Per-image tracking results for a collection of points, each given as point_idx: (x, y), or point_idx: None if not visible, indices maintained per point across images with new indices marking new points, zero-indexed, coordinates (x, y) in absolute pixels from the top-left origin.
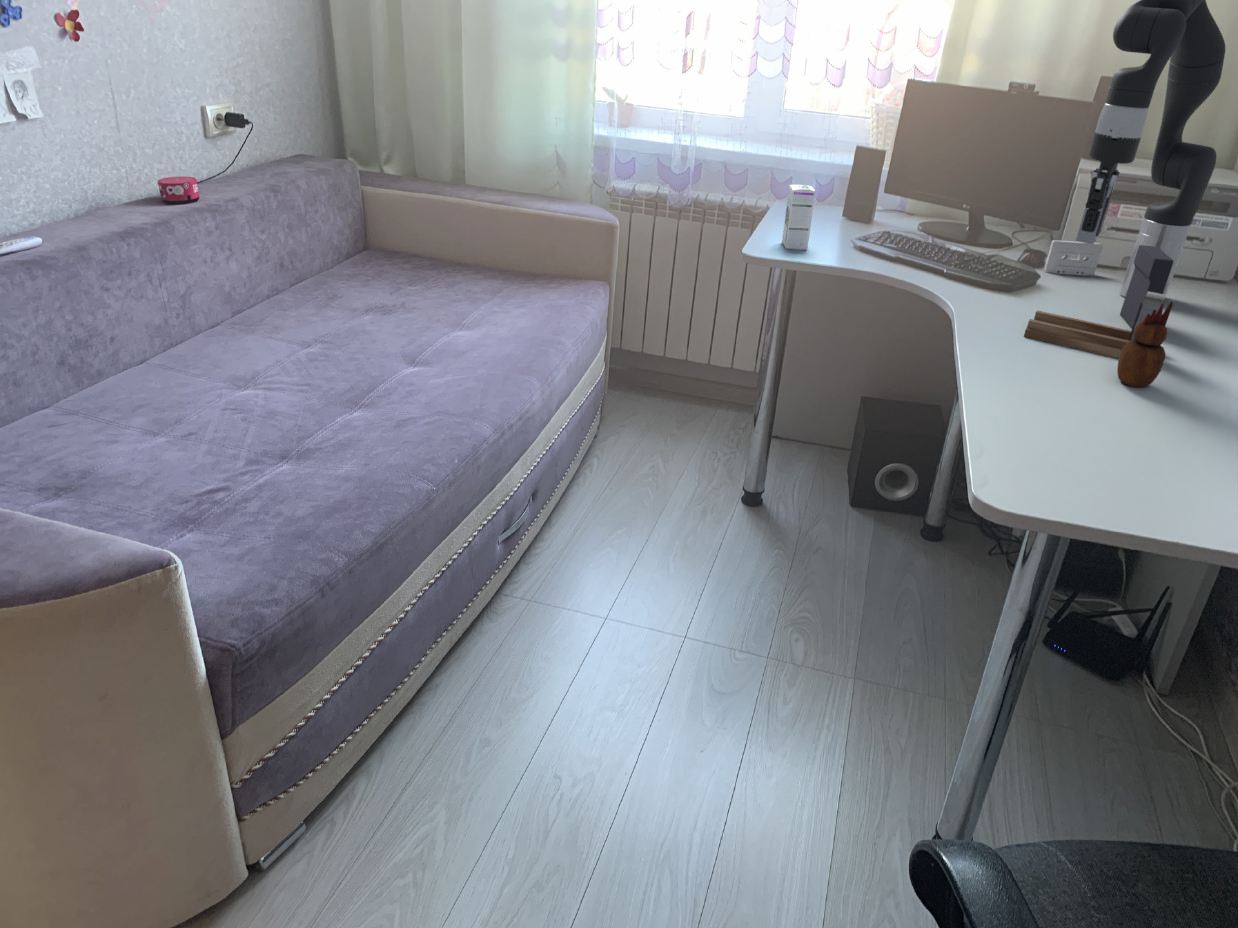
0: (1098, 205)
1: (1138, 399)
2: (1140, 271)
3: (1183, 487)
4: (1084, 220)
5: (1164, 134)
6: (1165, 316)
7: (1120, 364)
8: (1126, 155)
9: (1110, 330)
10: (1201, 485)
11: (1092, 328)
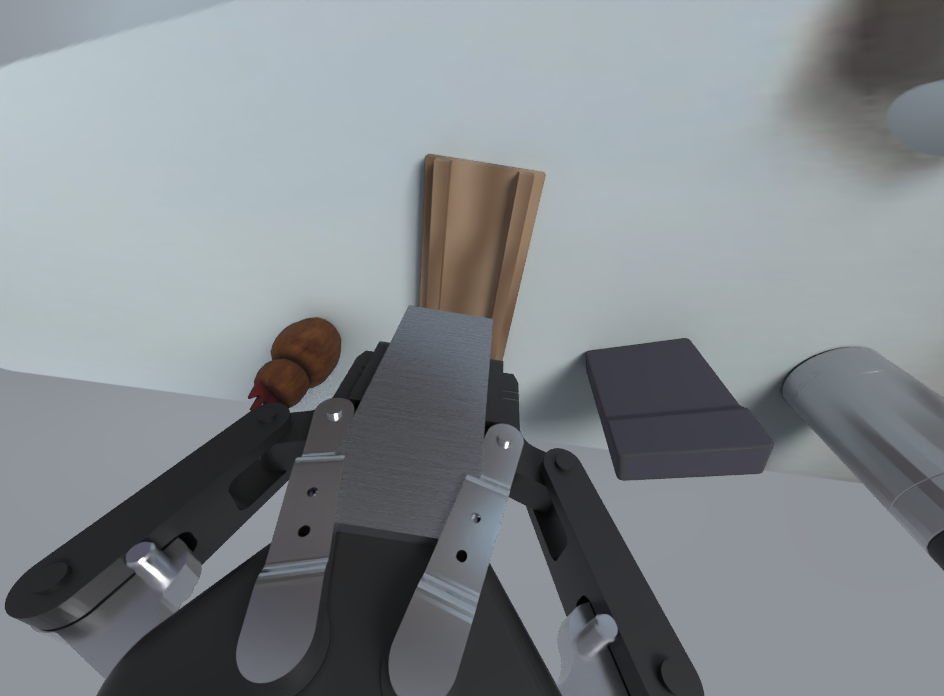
0: (255, 461)
1: (269, 334)
2: (685, 411)
3: (71, 353)
4: (366, 366)
5: None
6: None
7: (289, 326)
8: None
9: None
10: (95, 366)
11: (496, 292)
